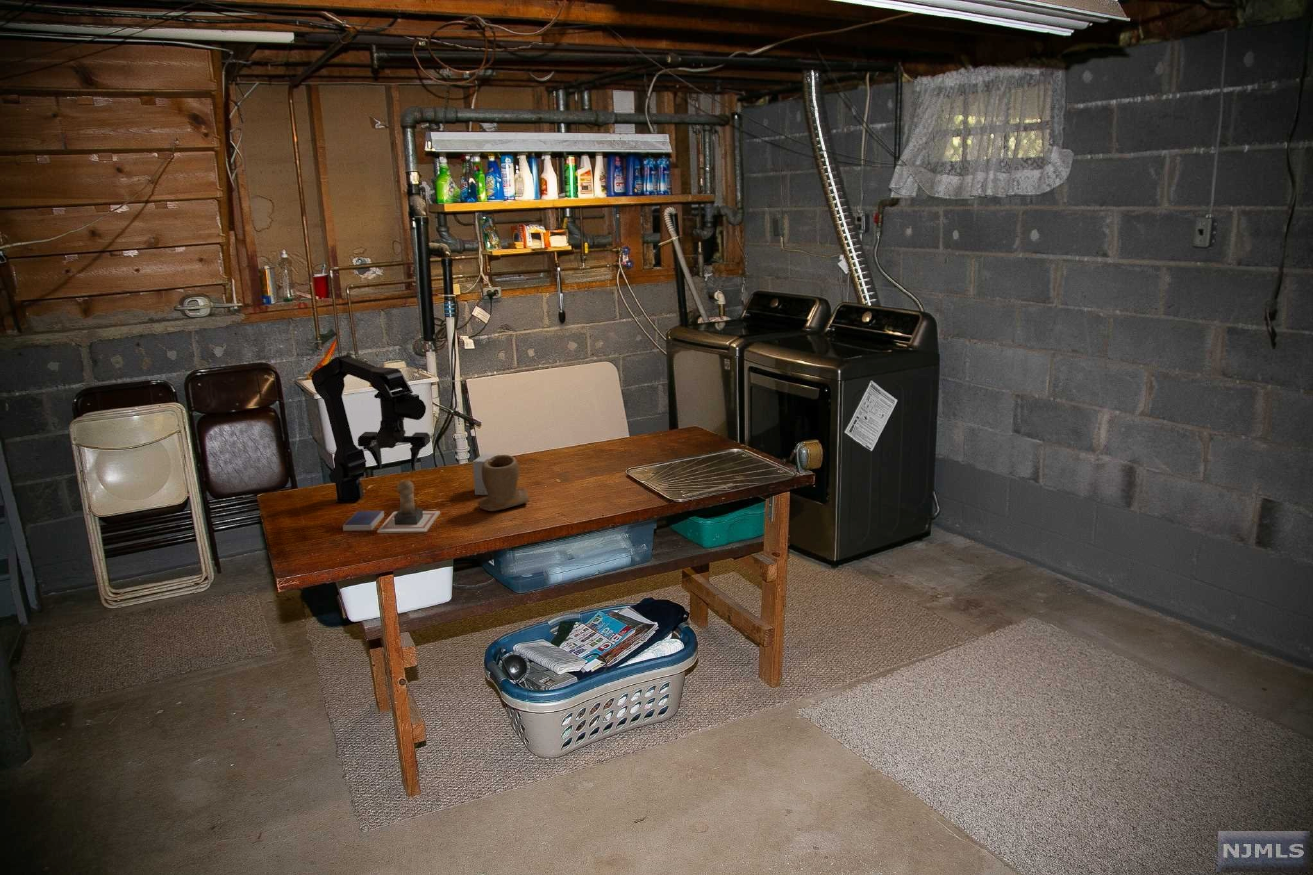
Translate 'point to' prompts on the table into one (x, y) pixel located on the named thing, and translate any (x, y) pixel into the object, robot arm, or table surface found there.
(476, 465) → the small box
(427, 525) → the board
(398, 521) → the stamp
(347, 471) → the robot arm
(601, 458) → the table surface
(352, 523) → the ink pad
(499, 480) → the stone cup
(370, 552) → the table surface
